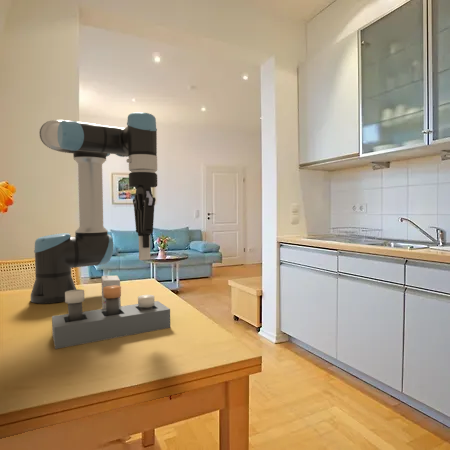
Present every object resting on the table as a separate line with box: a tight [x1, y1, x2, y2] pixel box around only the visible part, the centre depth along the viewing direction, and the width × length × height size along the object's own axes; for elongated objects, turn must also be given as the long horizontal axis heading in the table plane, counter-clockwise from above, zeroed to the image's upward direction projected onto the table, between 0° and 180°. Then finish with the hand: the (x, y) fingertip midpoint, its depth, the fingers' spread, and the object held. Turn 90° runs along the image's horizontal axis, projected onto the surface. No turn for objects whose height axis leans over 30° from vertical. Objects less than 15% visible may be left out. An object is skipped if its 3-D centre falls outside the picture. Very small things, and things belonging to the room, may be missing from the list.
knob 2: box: [137, 294, 155, 311], centre depth 95 cm, size 4×4×7 cm
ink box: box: [101, 274, 122, 309], centre depth 104 cm, size 8×5×12 cm, turn 23°
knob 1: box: [64, 289, 85, 322], centre depth 86 cm, size 4×4×7 cm
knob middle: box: [103, 285, 122, 316], centre depth 91 cm, size 4×4×7 cm
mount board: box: [51, 300, 171, 350], centre depth 91 cm, size 10×28×5 cm, turn 120°
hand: (144, 259), depth 95 cm, fingers closed
